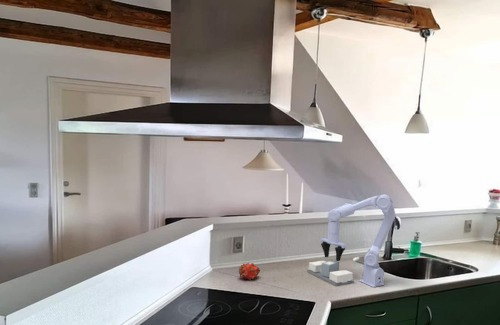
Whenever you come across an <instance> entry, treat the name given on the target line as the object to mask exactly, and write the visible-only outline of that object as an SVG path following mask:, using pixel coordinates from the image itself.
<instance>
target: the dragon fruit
mask: <svg viewBox="0 0 500 325" xmlns="http://www.w3.org/2000/svg"><path fill="white" fill-rule="evenodd" d="M260 273H261V269H260V268H259V267H258V266H257V265H255V264H254V263H253V262H252V263H250V262H247V263H242V264H241V265H240V267H239V268H238V274H239V277H240V278H243V279H244V280H246V279H247V280H249V281H251V279H252V280H255V279H257V276H259V274H260Z"/></svg>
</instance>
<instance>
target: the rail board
mask: <svg viewBox="0 0 500 325" xmlns="http://www.w3.org/2000/svg"><path fill="white" fill-rule="evenodd" d="M324 262H327V261H326V260H317V261H312V262H311V261H310V262H308V269H307V270H306V273H309V274H311V275H312V276H314V277H316V278H318V279H320V280H322V281H324V282H326V283H328V284H329V285H332V286H334V287H339V286H344V285H349V284H354V283H355V280H353V277H354V272H351V271H349V270H346V269H343V270H339V271H334V272H330V275H329V277H326V276H323V275H321V267H322V263H324Z"/></svg>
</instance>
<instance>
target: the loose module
mask: <svg viewBox="0 0 500 325" xmlns="http://www.w3.org/2000/svg"><path fill="white" fill-rule="evenodd" d="M334 271H340V261H336V260H333V259H331V260H328V261H326V262H324V263H322V267H321V275H323V276H326V277H329V275H330V272H334Z"/></svg>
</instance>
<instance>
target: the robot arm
mask: <svg viewBox="0 0 500 325" xmlns="http://www.w3.org/2000/svg"><path fill="white" fill-rule="evenodd" d="M394 206H395V205H394V201H393V200H392V198H391V197H390V196H389V195H388V194H387V193H386V194H385V193H383V194H380V195H375V196H371V197H369V198H366V199H363V200H361V201H359V202H356V203H354V204H351V203H347V202H346V203H344V204H343V205H342V206H341V205H340V206H336V207H335V208H332V209H331V210H330V211H328V213H327V219H328V222H327V238H325V237H322V238H321V239H320V242H321V243H320V246H321V247H322V250H323V254H324V258H329V256H330V248H331V245H332V246H335V247H334V251H335V254H336V255H335V261H337V262H340V261H341V259H342V255H343V253H344V251H345V250H346V246H347V244H346V243H344V242H341V241H340V227H341V226H340V219H343V218H347V217H349V216H352V215H354V214H355V212H356V211H358V210H361V209H364V208H367V207H375V208H376V207H377V208H379V209H380V211H381V212H382V214H383V216H384V217H383V220H382V221H381V224H380V226H379V228H378V231H377V233H376V235H375V237H374V240H373V241H372V245H371V247H370V248H369V249H368V250H367V251H366V252H365V255H364V257H363V261H364V262H363V272H362V273H363V274H362V275H363V276H362V278H361V279H359V280H358V281H359V282H361V283H363V284H364V285H366V286H367V285H368V286H370V287H372V288H375V287H382V286H385V271H384V269H383V268H382V267H380V263H379V259H380V252H381V249H382V247H383V245H384V243H385V240H386V239H387V236H388V234H389V232H390V230H391V228H392V226H393V223H394V220H395V218H396V211H395V207H394Z"/></svg>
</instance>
